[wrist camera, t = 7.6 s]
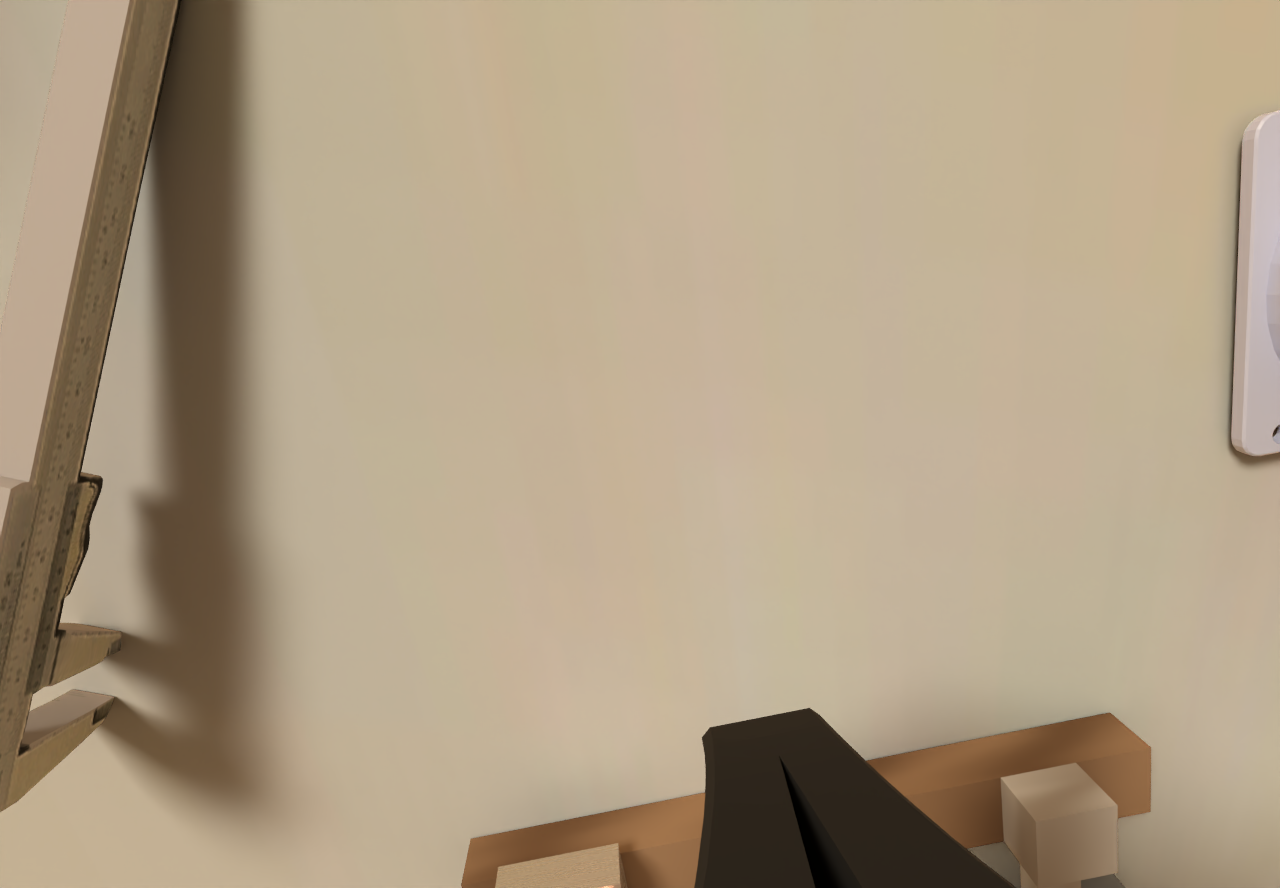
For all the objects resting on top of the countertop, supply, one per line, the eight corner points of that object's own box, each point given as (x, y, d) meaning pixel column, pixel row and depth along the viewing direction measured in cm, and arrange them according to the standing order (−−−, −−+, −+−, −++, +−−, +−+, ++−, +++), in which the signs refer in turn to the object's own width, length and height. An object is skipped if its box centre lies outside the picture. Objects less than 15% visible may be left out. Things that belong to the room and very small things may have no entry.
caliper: (123, 707, 18) (-111, 928, 12) (77, 699, 18) (-183, 918, 12) (218, -211, 14) (-76, -586, 8) (158, -230, 14) (-190, -629, 8)
